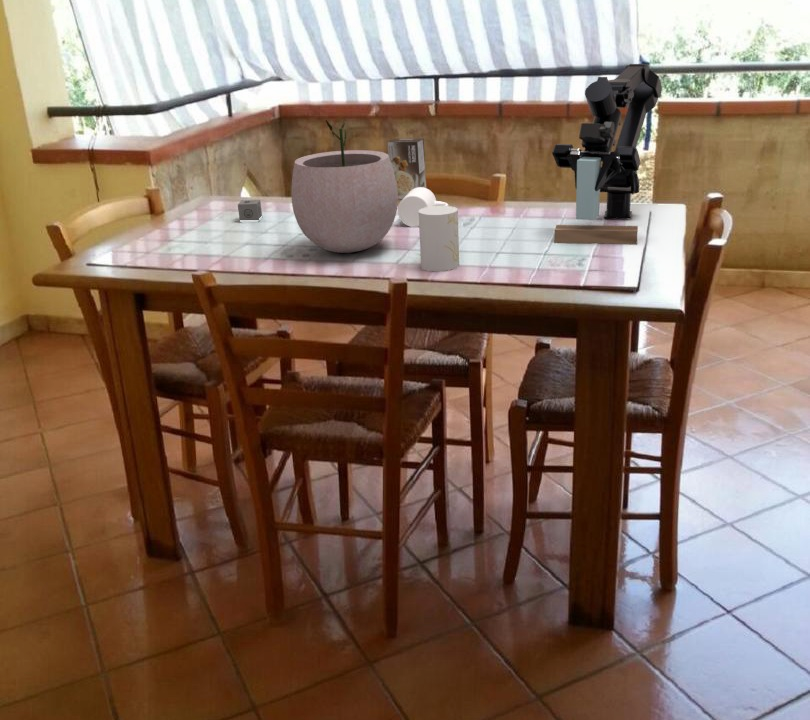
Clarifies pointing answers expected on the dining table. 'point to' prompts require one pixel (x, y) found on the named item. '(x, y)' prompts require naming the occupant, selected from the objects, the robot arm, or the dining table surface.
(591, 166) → the post
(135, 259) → the dining table surface
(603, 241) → the beam
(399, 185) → the coffee box
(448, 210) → the white cylinder
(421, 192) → the mug
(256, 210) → the dice cube
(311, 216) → the plant pot
